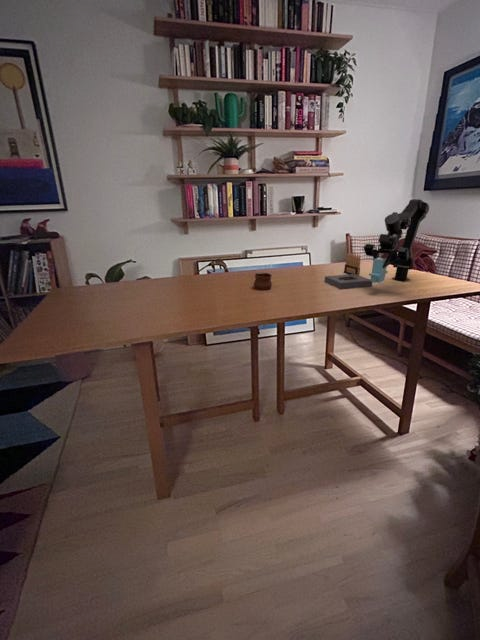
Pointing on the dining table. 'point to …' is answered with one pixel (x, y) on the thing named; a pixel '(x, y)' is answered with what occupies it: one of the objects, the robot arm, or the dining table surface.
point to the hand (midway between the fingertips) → (378, 267)
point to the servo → (378, 270)
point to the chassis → (348, 281)
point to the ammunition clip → (352, 264)
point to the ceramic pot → (263, 281)
